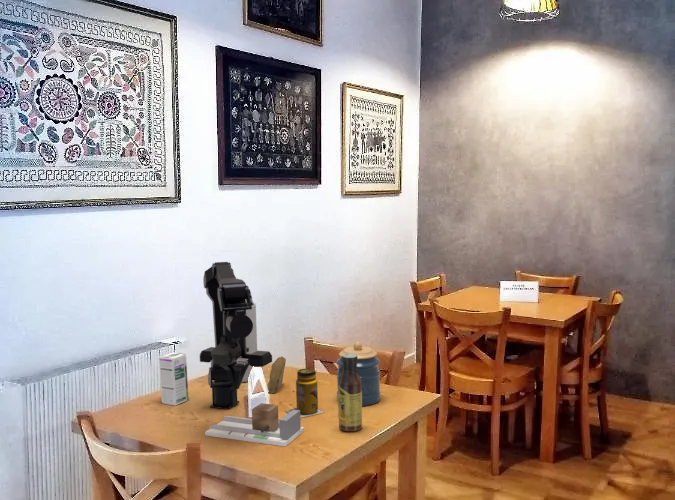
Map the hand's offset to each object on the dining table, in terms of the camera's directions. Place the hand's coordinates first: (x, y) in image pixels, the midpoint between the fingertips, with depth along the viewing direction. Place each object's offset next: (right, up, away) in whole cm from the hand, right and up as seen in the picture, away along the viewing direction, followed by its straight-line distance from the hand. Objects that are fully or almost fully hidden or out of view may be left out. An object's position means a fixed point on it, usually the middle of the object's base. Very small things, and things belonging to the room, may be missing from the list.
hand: (236, 389), depth 173 cm
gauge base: (+5, -11, -1) cm, 12 cm away
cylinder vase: (-7, -7, +50) cm, 51 cm away
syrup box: (-23, -10, +26) cm, 36 cm away
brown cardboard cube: (+7, -10, -3) cm, 13 cm away
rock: (+6, -8, +38) cm, 39 cm away
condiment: (+17, -10, +15) cm, 25 cm away
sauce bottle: (+30, -11, +1) cm, 32 cm away
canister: (+33, -9, +25) cm, 42 cm away
